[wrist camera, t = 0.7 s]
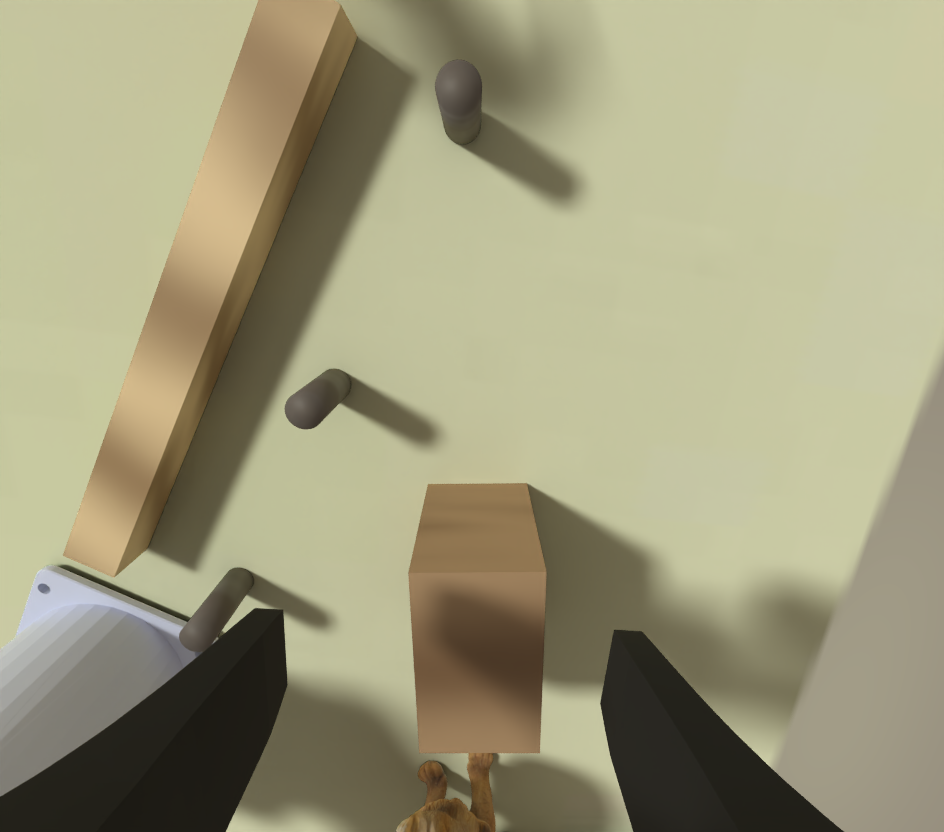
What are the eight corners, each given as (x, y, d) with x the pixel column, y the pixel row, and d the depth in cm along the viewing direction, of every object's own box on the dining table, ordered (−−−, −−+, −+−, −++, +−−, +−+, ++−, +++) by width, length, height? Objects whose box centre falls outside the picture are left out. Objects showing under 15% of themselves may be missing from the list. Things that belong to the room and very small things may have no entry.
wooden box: (524, 625, 22) (541, 752, 16) (434, 625, 22) (419, 753, 16) (527, 482, 20) (548, 572, 14) (428, 483, 20) (408, 573, 14)
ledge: (247, 595, 22) (205, 656, 18) (100, 529, 21) (27, 582, 17) (487, 115, 16) (490, 76, 13) (299, -5, 15) (248, -81, 12)
